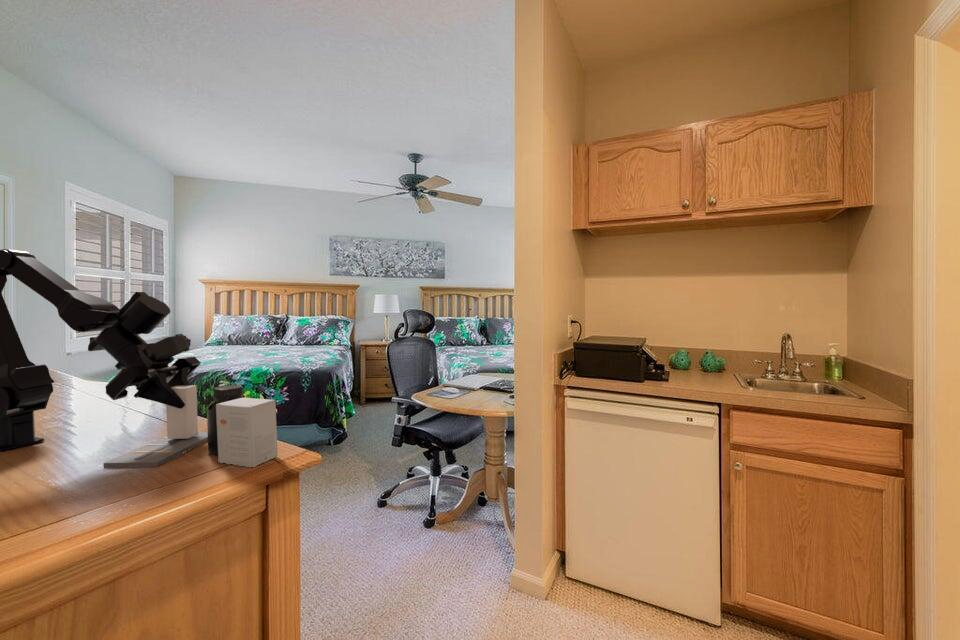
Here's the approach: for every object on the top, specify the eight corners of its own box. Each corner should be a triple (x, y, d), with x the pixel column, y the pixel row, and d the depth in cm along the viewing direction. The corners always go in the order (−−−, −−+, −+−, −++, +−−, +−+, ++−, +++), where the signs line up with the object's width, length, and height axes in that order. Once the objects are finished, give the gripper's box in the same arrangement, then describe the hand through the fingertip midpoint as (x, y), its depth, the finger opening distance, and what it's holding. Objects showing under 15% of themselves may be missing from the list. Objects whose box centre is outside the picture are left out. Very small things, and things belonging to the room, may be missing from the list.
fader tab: (178, 434, 85) (176, 385, 85) (197, 433, 85) (196, 385, 85) (167, 438, 82) (165, 388, 82) (187, 438, 82) (186, 388, 82)
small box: (278, 457, 75) (276, 399, 75) (252, 468, 70) (250, 406, 70) (244, 452, 78) (243, 396, 77) (217, 463, 73) (215, 403, 72)
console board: (174, 436, 88) (174, 428, 88) (217, 435, 88) (217, 428, 88) (103, 467, 71) (103, 458, 71) (157, 466, 71) (156, 457, 71)
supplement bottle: (230, 457, 75) (228, 391, 75) (198, 455, 77) (196, 390, 76) (258, 444, 82) (256, 384, 82) (228, 442, 83) (226, 383, 83)
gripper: (119, 324, 74) (184, 385, 74) (190, 320, 92) (242, 369, 93) (75, 368, 74) (141, 429, 74) (155, 355, 92) (207, 404, 93)
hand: (188, 404), depth 84 cm, fingers closed on fader tab, 3 cm apart
